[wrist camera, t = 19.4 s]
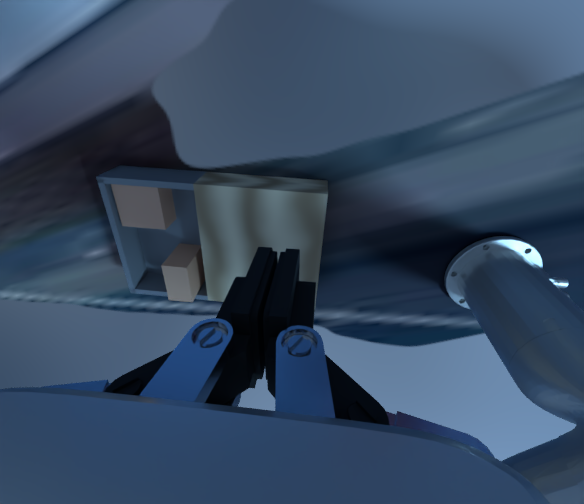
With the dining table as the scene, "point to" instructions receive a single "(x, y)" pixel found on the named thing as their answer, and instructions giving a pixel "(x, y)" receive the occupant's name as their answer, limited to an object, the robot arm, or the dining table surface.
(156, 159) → the dining table surface
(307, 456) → the robot arm
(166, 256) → the tray
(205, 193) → the pale green square panel
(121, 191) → the tile
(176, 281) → the tile
